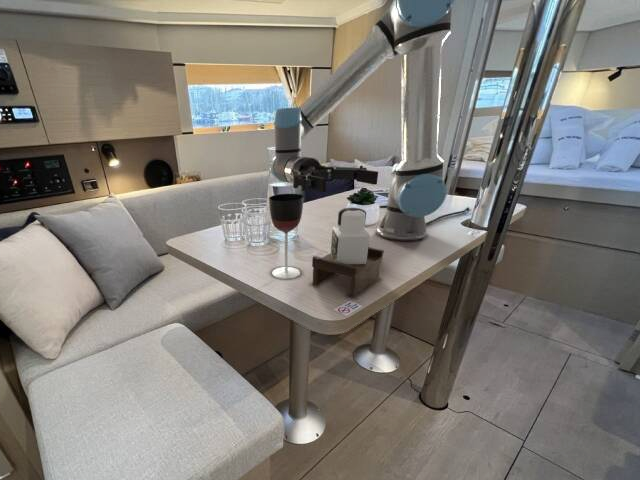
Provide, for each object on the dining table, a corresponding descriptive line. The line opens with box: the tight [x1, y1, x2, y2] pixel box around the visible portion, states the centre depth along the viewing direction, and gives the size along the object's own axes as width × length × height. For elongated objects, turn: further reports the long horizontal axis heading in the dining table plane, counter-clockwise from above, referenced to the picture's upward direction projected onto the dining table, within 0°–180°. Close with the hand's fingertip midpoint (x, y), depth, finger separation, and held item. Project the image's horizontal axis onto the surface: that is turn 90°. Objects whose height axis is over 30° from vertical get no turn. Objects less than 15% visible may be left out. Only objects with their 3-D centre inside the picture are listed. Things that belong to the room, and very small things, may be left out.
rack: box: [311, 246, 385, 299], centre depth 78 cm, size 14×11×8 cm
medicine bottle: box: [330, 207, 371, 265], centre depth 74 cm, size 7×7×12 cm
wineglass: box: [268, 193, 304, 280], centre depth 81 cm, size 8×9×20 cm
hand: (351, 181), depth 69 cm, fingers open, 13 cm apart
